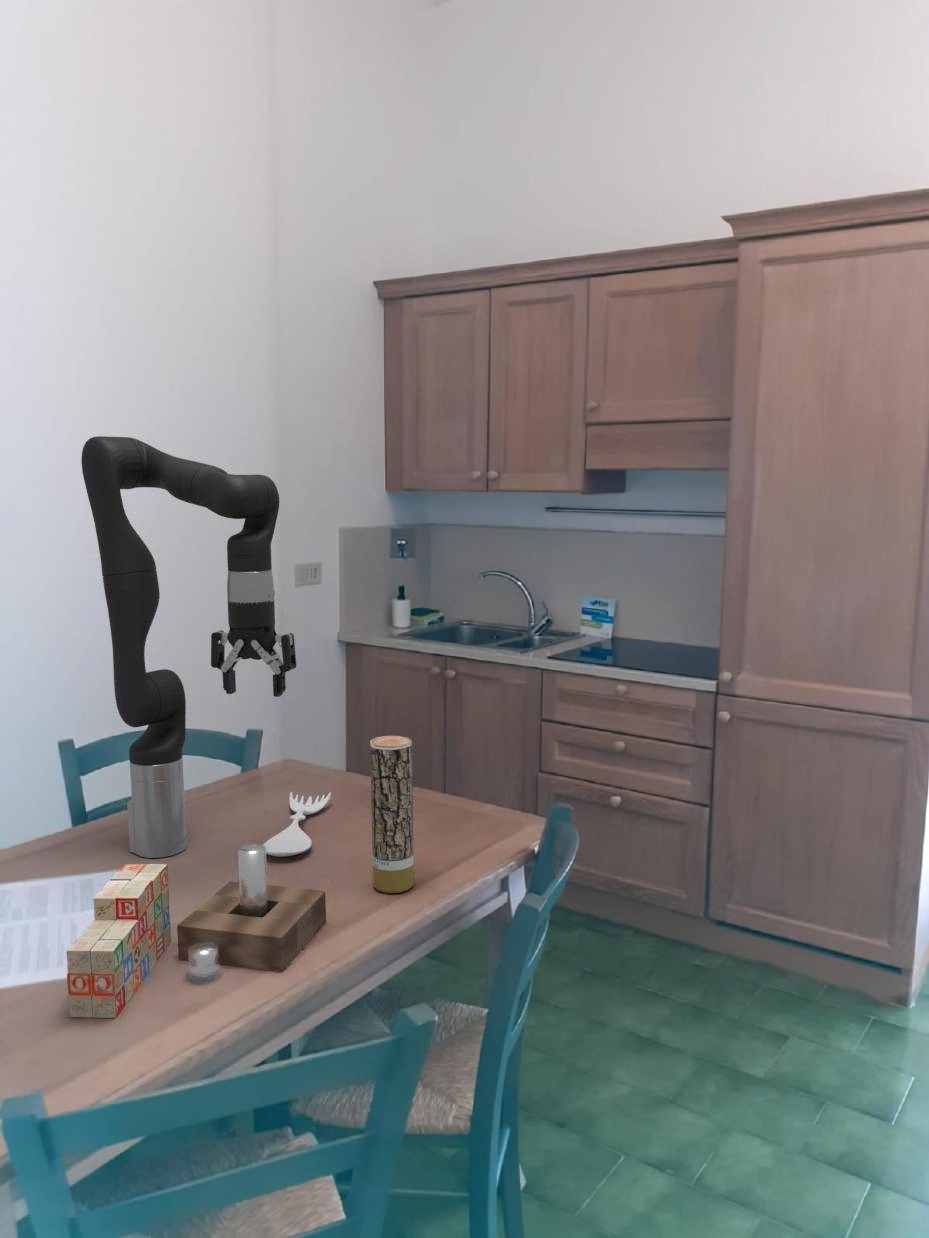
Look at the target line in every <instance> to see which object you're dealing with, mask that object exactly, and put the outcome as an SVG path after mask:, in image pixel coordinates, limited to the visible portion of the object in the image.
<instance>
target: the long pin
mask: <svg viewBox="0 0 929 1238" xmlns="http://www.w3.org/2000/svg"><path fill="white" fill-rule="evenodd" d="M237 858H238V859H237V860H238V880H239V881H238V882H239V889H240V915H243V916H252V917H261V918H263V917H264V916H265V915H266V914H267V913H268V896H267V885H268V875H267V873H268V871H267V870H268V869H267V854H266V847H265V846H263V844H257V843H256V844H255V843H253V844H251V843H250V844H246V845H245V844H244V845H242V846H240V847H239V848H238V849H237Z"/></svg>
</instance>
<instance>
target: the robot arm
mask: <svg viewBox="0 0 929 1238" xmlns="http://www.w3.org/2000/svg"><path fill="white" fill-rule="evenodd" d="M80 460H81V470H82V476H83V481H84V486H85V491H86V494H87V498H88V502H89V505H90V509H91V514H92V517H93V521H94V522H93V523H94V528H95V534H96V539H97V545H98V550H99V551H98V552H99V558H100V565H101V576H102V584H103V589H104V596H105V601H106V607H107V612H108V621H109V627H110V629H109V630H110V636H111V645H112V662H113V665H112V666H113V684H114V685H113V686H114V699H115V703H116V704H115V705H116V708H117V712H118V714H119V717H120V718H121V720H122V721H123V722H124V724H126V725H127V726H128V727H131V728H140V727H145V726H147V728H146V730H145V731H144V732H143V734H141V735H140V736H139V737H138V738H137V739H136V740H134V742H132V743H131V744H130V746H129V749H128V756H129V759H128V760H129V773H130V787H131V789H130V790H131V791H130V792H131V800H128V802H127V803H126V807H127V808H126V810H127V824H128V825H127V826H128V827H127V828H128V840H129V841H128V843H129V844H128V845H129V853H131V852H132V853H134V854H135V855H137V856H138V855H139V857H142V858H147V859H149V858H150V859H151V858H152V859H156V858H160V859H161V858H165V857H166V858H167V857H170V856H174V855H177V854H180V853H181V852H184V850H185V849H187V847H188V845H187V844H188V843H187V840H188V839H187V837H188V836H187V821H186V817H187V816H186V801H185V796H186V795H185V781H184V780H185V779H184V760H183V758H184V757H183V748H184V744H185V742H186V736H187V735H186V721H187V719H186V718H187V717H186V715H187V714H186V713H187V712H186V710H187V708H186V707H187V706H186V705H187V704H186V702H187V701H186V694H185V693H186V692H185V688H184V685H183V684H184V683H183V682H182V680H181V678H180V677H179V675H178V674H177V673H176V672H175V671H173V670H171V669H165V668H163V669H156V670H152V671H148V672H147V670H146V669H147V668H146V661H145V660H146V659H145V658H146V657H145V652H146V651H145V650H146V649H145V647H146V641H147V638H148V635H149V632H150V629H151V627H152V624H153V621H154V618H155V617H156V613H157V610H158V608H159V604H160V603H159V602H160V598H161V597H160V595H161V594H160V593H161V592H160V584H159V577H158V572H157V565H156V561H155V558H154V556H153V554H152V552H151V551H150V549H149V548H148V546H147V545H146V543H145V542H144V540H143V539H142V538H141V536H140V535H139V534H138V532H137V531H136V530H135V528H134V527H133V525H132V524H131V521H130V520H129V519H128V516H127V514H126V510H125V508H124V502H123V499H122V493H121V490H132V489H139V488H156V489H162V490H165V491H167V493H169V495H171V496H172V497H174V498H175V499H177V500H179V501H182V502H185V503H188V504H192V505H195V506H199V507H202V508H206V509H208V510H209V511H211V512H212V513H214V514H215V515H218V516H220V517H223V518H226V519H231V520H233V519H234V520H243V519H244V522H243V526H242V529H241V530H240V532H238V533H235V534H232V535H231V536H230V537H229V538H228V539H227V542H226V553H227V555H226V556H227V557H226V558H227V580H226V592H227V593H226V595H227V599H226V600H227V619H228V627H229V631H228V632H225V631H224V630H217V631H214V632H212V633H211V634H210V635H211V636H210V640H211V641H210V642H211V643H210V665H211V667H212V669H215V668H216V669H218V670H220V671H221V672H222V688H223V690H224V691H225V694H226V695H232V694H235V693H236V691H237V686H236V685H237V683H236V670H234V669H235V667H236V666H237V664H238V663H239V661H240V660H249V659H252V660H253V661H254V660H255V661H260V660H263V662H264V663H265V665H267V666H268V667H270V670H271V671H272V672H273V674H272V688H273V693H272V695H273V697H275V698H279V697H281V696H283V694H284V693H285V691H286V689H287V687H286V685H287V684H286V674H287V672H290V671H292V670H294V669H296V668H297V657H296V646H295V645H296V644H295V643H296V642H295V635H294V633H292V632H289V633H285V634H278V633H277V632H276V610H275V595H276V592H275V583H274V577H273V570H272V566H273V565H272V564H273V563H272V547H271V546H272V541H273V538H274V534H275V528H276V524H277V519H278V516H279V515H278V514H279V510H280V495H279V491H278V488H277V486H276V484H275V482H274V481H273V480H272V478H270V477H269V476H267V475H264V474H231V473H228V472H227V471H225V470H224V469H222V468H220V467H218V466H215V465H211V464H207V463H203V462H198V461H195V460H190V459H185V458H180V457H177V456H173V455H171V454H169V453H166V452H164V451H161V450H160V449H158V448H156V447H155V446H152V445H150V444H148V443H145V442H143V441H142V440H139V439H137V438H133V437H131V436H130V437H128V436H127V437H126V436H108V435H107V436H101V435H99V436H92V437H90V438H89V439H87V440H86V442H85V443H84V444H83V447H82V451H81V459H80ZM228 643H229V644H230V646H231V650H230V652H229V653H228V655H227V656H226V659H225V650H226V649H225V645H226V644H228ZM277 643H278V645H279V647H280V648H281V653H282V659H281V655H280V654H279V653H278V651H277V650H276V649H275V645H276V644H277Z"/></svg>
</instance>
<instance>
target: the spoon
mask: <svg viewBox="0 0 929 1238" xmlns="http://www.w3.org/2000/svg"><path fill="white" fill-rule="evenodd" d="M293 796H294V795H293V792H292V791H291V792H290V793H289V798H288V801H289V807H290V809H291V811H292V812H294V813H295V814H292V815H291V816H289V820H290V821H292V823H291V824H290V825H289V826H287V827H286V828H284V830H281V831H280V832H279V833H277V834H276V835H273V836H272V837H271V838H269V839H268V840H266V841H265V842H264V843H263V844H262V845H263V846H265V847H266V855H269V856H273V857H290V856H295V855H299V854H302V853H305V852H306V851H308V850H309V849H310V848H311V847H312V844H313V840H312V838H310V836H309V835H308V834H306V833H305V831H303V830H302V828H301V827H300V826H299V822H300V821H304V820H306V816H311V815H313V814H317V813H318V812H319V811H321V810H322V809H324V807H325V806H326V805H327V803H328V802H329V801H330V799H331V796H332V792H331V791H330V792H329V793H328V794H327V796H325V794H322V797H321V798H320V795H319V794H318V795H317V796H316V798H315V801H314V802H313V797H312V796H311V795H310V796H309V797H308V798H307V801H306V802H305V804H304V799H305V796H304V795H302V796H301V798H300V801H299V794H296V796H295V798H294V797H293ZM319 799H320V800H319Z"/></svg>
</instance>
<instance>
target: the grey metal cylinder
mask: <svg viewBox="0 0 929 1238" xmlns="http://www.w3.org/2000/svg"><path fill="white" fill-rule="evenodd" d="M188 954H189V960H188V967H189V968H188V971H189V972H188V973H189V980H190V981H191V982H192V983H195V984H206V983H210V982H214V981H216V980H218V978H219V977H220V975H221V974H220V964H219V949H218V945H217V944H216V943H213V942H201V943H197V944H195V945H193V946H191V947H190V948H189V950H188Z"/></svg>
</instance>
